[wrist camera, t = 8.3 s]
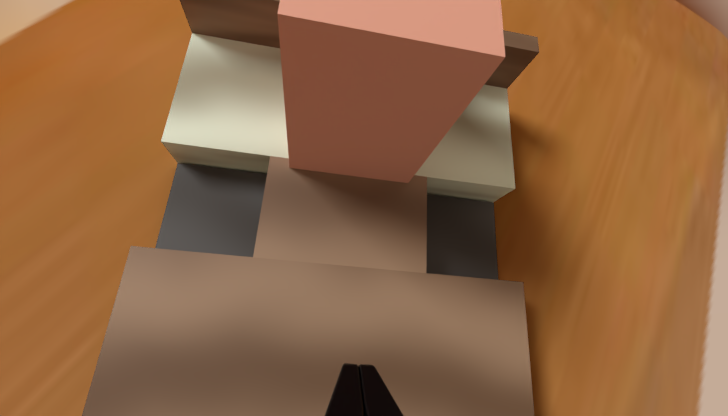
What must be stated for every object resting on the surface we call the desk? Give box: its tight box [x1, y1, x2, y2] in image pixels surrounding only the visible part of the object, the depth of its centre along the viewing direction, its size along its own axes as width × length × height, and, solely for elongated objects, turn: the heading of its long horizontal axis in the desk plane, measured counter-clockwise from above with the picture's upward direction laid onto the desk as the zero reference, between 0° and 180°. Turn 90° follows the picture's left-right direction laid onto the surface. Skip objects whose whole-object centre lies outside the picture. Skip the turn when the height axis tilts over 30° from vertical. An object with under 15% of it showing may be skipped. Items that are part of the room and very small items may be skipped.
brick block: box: [277, 0, 505, 183], centre depth 14 cm, size 7×6×9 cm
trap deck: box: [82, 0, 539, 416], centre depth 16 cm, size 23×18×6 cm
